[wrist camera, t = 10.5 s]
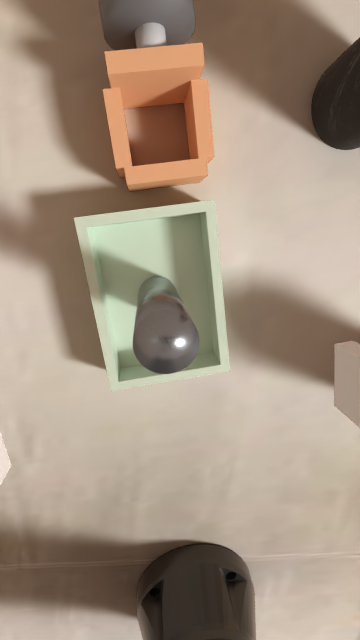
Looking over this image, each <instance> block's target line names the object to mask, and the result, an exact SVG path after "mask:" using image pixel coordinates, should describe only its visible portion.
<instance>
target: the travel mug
mask: <svg viewBox="0 0 360 640" xmlns="http://www.w3.org/2000/svg"><path fill="white" fill-rule="evenodd" d="M312 119H313V123H314V126H315V129H316V131H317V133H318V135H319V136H320V137H321V139H322V140H323V141H324V142H325V143H327V144H328V145H330V146H331V147H334V148H336V149H341V150H350V149H355V148H359V147H360V38H359V39H358V40H356V41H355V42H354V43H353V44H352V45H351V46H350V47H349V48H348V49H347V50H346V51H345V52H344V53H343V54H342V55H341V56H340V57H339V58H338V59H337V60H336V61H335V62H334V63H333V64H332V65H331V66H330V67H329V68H328V69H327V70H326V71H325V73H324V74H323V75H322V77H321V78H320V80H319V82H318V84H317V86H316V88H315V92H314V95H313V99H312Z"/></svg>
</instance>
